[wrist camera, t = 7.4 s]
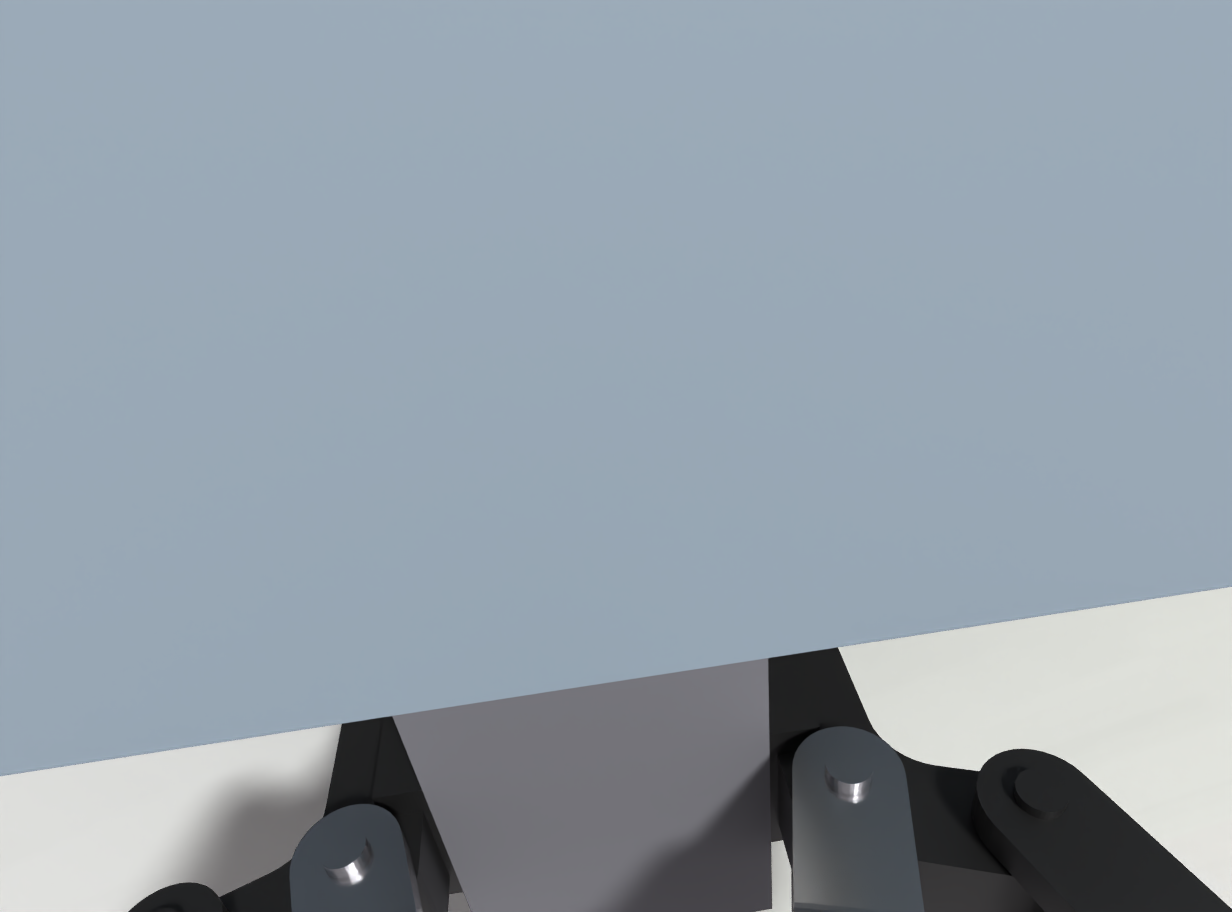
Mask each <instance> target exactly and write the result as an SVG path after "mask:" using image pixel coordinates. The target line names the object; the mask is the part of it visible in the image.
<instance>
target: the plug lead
mask: <svg viewBox="0 0 1232 912" xmlns="http://www.w3.org/2000/svg"><path fill="white" fill-rule="evenodd" d="M392 717H393V719H394V722H395V724H396V727H397V729H398V732H399V734H400V736H401V739H402V741H403V744H404V746H405V749H406V751H407V754H408V756H409V759H410V761H411V764H412V766H413V769H414V771H415V774H416V776H417V779H418V781H419V783H420V786H421V788H422V791H423V793H424V796H425V798H426V801H427V803H428V806H429V808H430V811H431V813H432V816H433V818H434V821H435V823H436V826H437V828H438V830H439V833H440V835H441V838H442V840H443V843H444V845H445V848H446V850H447V853H448V855H449V858H450V860H451V863H452V865H453V868H454V870H455V873H456V875H457V877H458V880H459V882H460V885H461V887H462V890H463V892H464V895H465V897H466V900H467V902H468V905H469V907H470V910H471V912H755V911H761V910H767V909H772V877H771V812H770V748H769V683H768V658H765V659H758V660H752V661H745V662H739V663H732V664H726V665H719V666H713V667H706V668H700V669H693V670H687V671H680V672H674V673H667V674H661V675H654V676H648V677H641V678H635V679H628V680H622V681H615V682H609V683H602V684H596V685H589V686H583V687H576V688H570V689H563V690H557V691H550V692H544V693H537V694H531V695H524V696H518V697H511V698H505V699H498V700H492V701H485V702H479V703H472V704H466V705H459V706H453V707H446V708H440V709H433V710H427V711H421V712H414V713H408V714H401V715H395V716H392Z"/></svg>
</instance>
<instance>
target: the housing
mask: <svg viewBox="0 0 1232 912" xmlns="http://www.w3.org/2000/svg"><path fill="white" fill-rule="evenodd" d="M1226 587H1232V0H0V776H5V775H11V774H18V773H24V772H31V771H37V770H44V769H50V768H57V767H63V766H70V765H76V764H83V763H89V762H96V761H102V760H109V759H115V758H122V757H128V756H135V755H141V754H148V753H154V752H161V751H167V750H174V749H180V748H187V747H193V746H200V745H206V744H213V743H219V742H226V741H232V740H239V739H245V738H252V737H258V736H265V735H271V734H278V733H284V732H291V731H297V730H304V729H310V728H317V727H323V726H330V725H336V724H343V723H349V722H356V721H362V720H369V719H375V718H382V717H388V716H395V715H401V714H408V713H414V712H421V711H427V710H433V709H440V708H446V707H453V706H459V705H466V704H472V703H479V702H485V701H492V700H498V699H505V698H511V697H518V696H524V695H531V694H537V693H544V692H550V691H557V690H563V689H570V688H576V687H583V686H589V685H596V684H602V683H609V682H615V681H622V680H628V679H635V678H641V677H648V676H654V675H661V674H667V673H674V672H680V671H687V670H693V669H700V668H706V667H713V666H719V665H726V664H732V663H739V662H745V661H752V660H758V659H765V658H771V657H778V656H784V655H791V654H797V653H804V652H810V651H817V650H823V649H830V648H836V647H843V646H849V645H856V644H862V643H869V642H875V641H882V640H888V639H895V638H901V637H908V636H914V635H921V634H927V633H934V632H940V631H947V630H953V629H960V628H966V627H973V626H979V625H986V624H992V623H999V622H1005V621H1012V620H1018V619H1025V618H1031V617H1038V616H1044V615H1051V614H1057V613H1064V612H1070V611H1077V610H1083V609H1090V608H1096V607H1103V606H1109V605H1116V604H1122V603H1129V602H1135V601H1142V600H1148V599H1155V598H1161V597H1168V596H1174V595H1181V594H1187V593H1194V592H1200V591H1207V590H1213V589H1220V588H1226Z"/></svg>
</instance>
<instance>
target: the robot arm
mask: <svg viewBox="0 0 1232 912" xmlns="http://www.w3.org/2000/svg"><path fill="white" fill-rule="evenodd" d="M768 683H769V748H770V812H771V842H774V841H780V840H783V841H784V845H785V848H786V851H787V855H788V858H789V862H790V865H791V869H792V874H791V892H792V912H1232V909H1231V908H1230V907H1229V906H1228V905H1227V904H1226V903H1225V902H1223V901H1222V900H1221V899H1220V898H1219V897H1218V896H1217V895H1216V894H1215V893H1214V892H1212V891H1211V890H1210V889H1209V888H1208V887H1207V886H1206V885H1205V884H1204V883H1203V882H1201V881H1200V880H1199V879H1198V878H1197V877H1196V876H1195V875H1194V874H1193V873H1192V872H1190V871H1189V870H1188V869H1187V868H1186V867H1185V866H1184V865H1183V864H1182V863H1181V862H1179V861H1178V860H1177V859H1176V858H1175V857H1174V856H1173V855H1172V854H1171V853H1170V852H1168V851H1167V850H1166V849H1165V848H1164V847H1163V846H1162V845H1161V844H1160V843H1159V842H1158V841H1156V840H1155V839H1154V838H1153V837H1152V836H1151V835H1150V834H1149V833H1148V832H1147V831H1145V830H1144V829H1143V828H1142V827H1141V826H1140V825H1139V824H1138V823H1137V822H1136V821H1134V820H1133V819H1132V818H1131V817H1130V816H1129V815H1128V814H1127V813H1126V812H1125V811H1123V810H1122V809H1121V808H1120V807H1119V806H1118V805H1117V804H1116V803H1115V802H1114V801H1112V800H1111V799H1110V798H1109V797H1108V796H1107V795H1106V794H1105V793H1104V792H1103V791H1101V790H1100V789H1099V788H1098V787H1097V786H1096V785H1095V784H1094V783H1093V782H1092V781H1091V780H1089V779H1088V778H1087V777H1086V776H1085V775H1084V774H1083V773H1082V772H1080V771H1079V770H1078V769H1077V768H1075V767H1074V766H1073V765H1071V764H1069V763H1068V762H1066V761H1065V760H1063V759H1060V758H1058V757H1056V756H1054V755H1051V754H1048V753H1045V752H1042V751H1037V750H1031V749H1013V750H1008V751H1004V752H1001V753H999V754H996V755H995V756H993V757H992V758H990V759H989V760H988V761H987V762H986V763H985V764H984V765H983V767H982V768H981V770H980V771H972V770H965V769H957V768H950V767H942V766H935V765H930V764H925V763H922V762H919V761H916V760H913V759H911V758H909V757H906V756H904V755H903V754H901V753H899V752H898V751H896V750H894V749H893V748H892V747H891V746H890V745H889V744H887V743H886V742H885V741H884V740H882V738H881V737H880V736H879V735H878V734H877V733H876V731H875V730H874V729H873V727H872V725H871V723H870V721H869V719H868V717H867V715H866V712H865V710H864V708H863V705H862V703H861V701H860V698H859V696H858V694H857V691H856V689H855V687H854V684H853V682H852V680H851V677H850V675H849V673H848V670H847V668H846V666H845V663H844V661H843V659H842V656H841V654H840V652H839V649H838V647H836V648H830V649H823V650H817V651H810V652H804V653H797V654H791V655H784V656H778V657H771V658H768ZM459 892H463V890H462V887H461V885H460V882H459V880H458V877H457V875H456V873H455V870H454V868H453V865H452V863H451V860H450V858H449V855H448V853H447V850H446V848H445V845H444V843H443V840H442V838H441V835H440V833H439V830H438V828H437V826H436V823H435V821H434V818H433V816H432V813H431V811H430V808H429V806H428V803H427V801H426V798H425V796H424V793H423V791H422V788H421V786H420V783H419V781H418V779H417V776H416V774H415V771H414V769H413V766H412V764H411V761H410V759H409V756H408V754H407V751H406V749H405V746H404V744H403V741H402V739H401V736H400V734H399V732H398V729H397V727H396V724H395V722H394V719H393V717H392V716H388V717H382V718H375V719H369V720H362V721H356V722H349V723H343V724H342V726H341V731H340V737H339V742H338V747H337V752H336V758H335V763H334V768H333V773H332V778H331V784H330V789H329V794H328V799H327V804H326V809H325V813H324V816H323V818H322V819H321V820H320V821H318V822H317V823H316V824H315V825H314V826H313V827H312V828H311V829H310V830H309V831H308V832H307V833H306V834H305V835H304V837H303V838H302V839H301V841H300V842H299V844H298V846H297V848H296V849H295V852H294V855H293V857H292V859H291V860H290V861H289V862H287V863H286V864H284V865H283V866H282V867H280V868H279V869H277V870H275V871H273V872H271V873H269V874H267V875H265V876H263V877H261V878H259V879H257V880H255V881H253V882H251V883H248V884H246V885H244V886H242V887H240V888H238V889H236V890H234V891H232V892H229V893H227V894H225V895H223V896H221V897H218V896H217V894H216V893H215V892H214V891H213V890H212V889H210V888H208V887H207V886H205V885H202V884H198V883H189V882H188V883H179V884H175V885H171V886H168V887H165V888H163V889H160V890H158V891H156V892H154V893H153V894H151V895H149V896H147V897H146V898H145V899H143V900H142V901H140V902H139V903H138V904H136V905H135V906H134V907H133V908H132V909H131V910H130V911H128V912H448V902H449V894H453V893H459Z"/></svg>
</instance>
